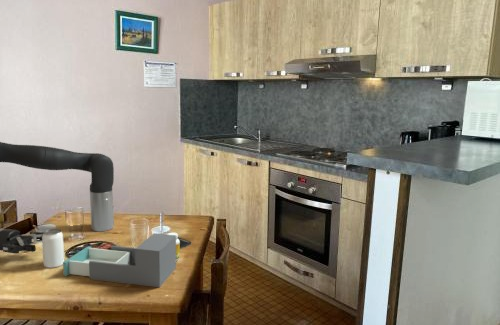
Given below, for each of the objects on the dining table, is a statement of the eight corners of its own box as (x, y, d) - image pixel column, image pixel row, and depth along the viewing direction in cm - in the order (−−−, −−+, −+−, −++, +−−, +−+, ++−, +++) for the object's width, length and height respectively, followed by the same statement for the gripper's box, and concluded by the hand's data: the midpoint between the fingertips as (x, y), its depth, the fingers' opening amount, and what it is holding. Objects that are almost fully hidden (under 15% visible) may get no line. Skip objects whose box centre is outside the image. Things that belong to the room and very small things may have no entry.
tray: (88, 257, 142) (88, 246, 141) (132, 262, 139) (131, 250, 138) (63, 275, 128) (63, 262, 127) (111, 280, 125) (110, 267, 124)
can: (40, 264, 136) (38, 231, 134) (60, 259, 141) (58, 227, 139) (48, 270, 132) (45, 236, 130) (67, 264, 136) (65, 231, 134)
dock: (112, 261, 140) (111, 229, 138) (175, 268, 136) (175, 235, 134) (89, 279, 126) (88, 243, 124) (159, 287, 122) (159, 251, 120)
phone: (167, 233, 168) (192, 242, 159) (167, 236, 168) (192, 244, 159) (153, 238, 161) (177, 247, 152) (153, 241, 162) (177, 250, 153)
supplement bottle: (161, 259, 143) (161, 234, 142) (174, 255, 147) (173, 230, 146) (170, 263, 140) (170, 238, 138) (182, 259, 144) (182, 234, 142)
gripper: (-15, 236, 131) (28, 240, 128) (17, 223, 145) (56, 226, 142) (-13, 257, 132) (29, 262, 129) (18, 242, 146) (57, 246, 143)
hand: (43, 243), depth 136 cm, fingers open, 8 cm apart
